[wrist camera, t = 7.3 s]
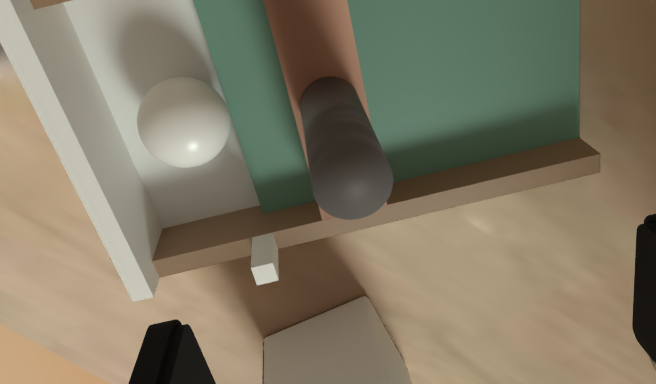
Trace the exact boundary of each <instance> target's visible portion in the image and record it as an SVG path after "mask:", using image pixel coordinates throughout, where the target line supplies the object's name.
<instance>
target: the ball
mask: <svg viewBox="0 0 656 384" xmlns="http://www.w3.org/2000/svg"><path fill="white" fill-rule="evenodd" d="M137 128H138V133H139V136H140V138H141V140H142V143H143V144H144V146H145V147H146V149H147V150H148V151H149V152H150V153H151V154H152V155H153V156H154V157H155V158H157V159H158V160H160V161H161V162H163V163H165V164H168V165H171V166H174V167H181V168H190V167H196V166H199V165H202V164H205V163H207V162H208V161H210V160H212V159H213V158H214V157H215V156H217V154H218V153H219V152H220V151H221V150H222V148H223V147H224V145H225V143H226V141H227V139H228V136H229V132H230V116H229V111H228V108H227V106H226V104H225V102H224V100H223V98H222V97H221V96H220V94H219V93H218V92H217V91H216V90H215V89H214V88H212V87H211V86H210V85H208V84H207V83H205V82H203V81H200V80H198V79H194V78H190V77H174V78H170V79H166V80H164V81H162V82H160V83H158V84H156V85H155V86H154V87H152V88H151V89H150V90H149V91H148V92H147V94H146V95H145V96H144V98H143V100H142V101H141V104H140V106H139V109H138V114H137Z"/></svg>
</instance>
